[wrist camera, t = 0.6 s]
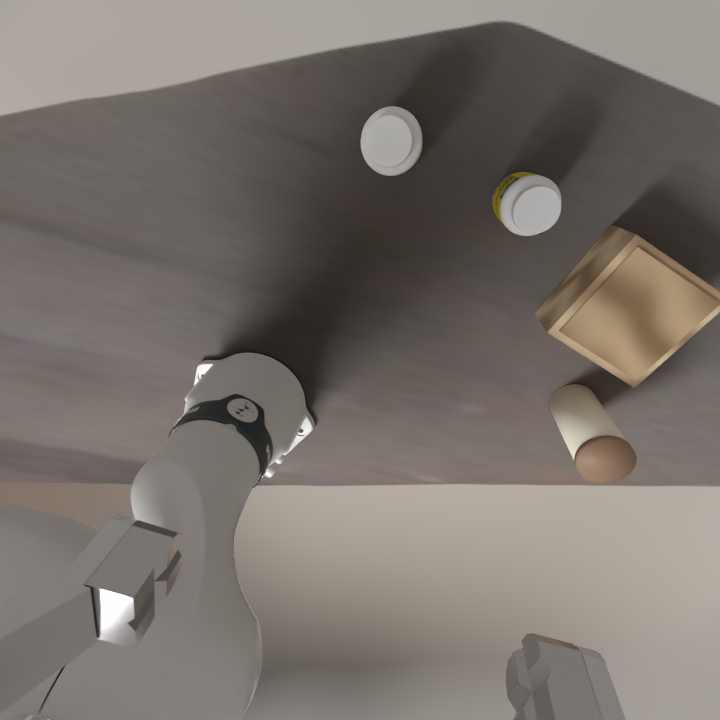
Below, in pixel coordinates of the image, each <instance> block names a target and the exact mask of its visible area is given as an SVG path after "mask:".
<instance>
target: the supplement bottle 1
mask: <svg viewBox="0 0 720 720" xmlns="http://www.w3.org/2000/svg"><path fill="white" fill-rule="evenodd" d="M422 148H423V135H422V131H421V128H420V125H419V123H418V121H417V120H416V118H415V117H414V116H413V115H412V114H411V113H410V112H408V111H407V110H405V109H403V108H400V107H395V106H389V107H385V108H382V109H380V110H378V111H376V112H375V113H374V114H372V115H371V116H370V118H369V119H368V120H367V122H366V123H365V125H364V128H363V130H362V134H361V150H362V154H363V157H364V159H365V161H366V162H367V164H368V165H369V166H370V167H371V168H372V169H373V170H374V171H376V172H377V173H380V174H382V175H387V176H395V175H399V174H402V173H404V172H405V171H407V170H409V169H410V168H411V167H412V166H413V165H414V164H415V163H416V162H417V161H418V159H419V157H420V155H421V152H422Z"/></svg>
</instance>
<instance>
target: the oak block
mask: <svg viewBox="0 0 720 720" xmlns="http://www.w3.org/2000/svg"><path fill="white" fill-rule="evenodd" d="M719 312H720V292H719V291H718V290H716V289H715V288H713V287H712V286H710V285H709V284H708V283H706V282H705V281H703V280H702V279H700V278H699V277H697V276H696V275H695V274H693V273H692V272H690V271H689V270H687V269H686V268H684V267H683V266H681V265H680V264H679V263H677V262H676V261H674V260H673V259H671V258H670V257H668V256H667V255H666V254H664V253H663V252H661V251H660V250H658V249H657V248H655V247H654V246H653V245H651V244H650V243H648V242H647V241H645V240H644V239H642V238H641V237H639V236H638V235H637V234H634V233H632V232H629V231H627V230H624V229H622V228H619V227H617V226H614V225H612V224H611V226H610V227H609V228H608V229H607V230H606V231H605V232H604V234H603V235H602V236H601V237H600V238H599V239H598V241H597V242H596V243H595V244H594V245H593V246H592V248H591V249H590V250H589V251H588V252H587V253H586V254H585V256H584V257H583V258H582V259H581V260H580V261H579V263H578V264H577V265H576V266H575V267H574V268H573V269H572V271H571V272H570V273H569V274H568V275H567V276H566V278H565V279H564V280H563V281H562V282H561V283H560V284H559V286H558V287H557V288H556V289H555V290H554V291H553V293H552V294H551V295H550V296H549V297H548V298H547V299H546V301H545V302H544V303H543V304H542V305H541V306H540V308H539V309H538V310H537V311H536V312H535V315H536V316H537V318H538V319H539V321H540V322H541V324H542V325H543V327H544V328H545V330H546V331H547V333H549V334H551V335H552V336H554V337H555V338H557V339H558V340H560V341H562V342H563V343H565V344H566V345H568V346H569V347H571V348H573V349H574V350H576V351H577V352H579V353H580V354H582V355H584V356H585V357H587V358H588V359H590V360H591V361H593V362H595V363H596V364H598V365H599V366H601V367H602V368H604V369H606V370H607V371H609V372H610V373H612V374H613V375H615V376H617V377H618V378H620V379H621V380H623V381H624V382H626V383H628V384H629V385H631V386H632V387H634V388H635V387H636V386H637V385H638V384H640V383H641V382H642V381H643V380H644V379H645V378H646V377H647V376H649V375H650V374H651V373H652V372H653V371H654V370H655V369H656V368H657V367H659V366H660V365H661V364H662V363H663V362H664V361H665V360H666V359H668V358H669V357H670V356H671V355H672V354H673V353H674V352H675V351H676V350H678V349H679V348H680V347H681V346H682V345H683V344H684V343H685V342H687V341H688V340H689V339H690V338H691V337H692V336H693V335H694V334H695V333H697V332H698V331H699V330H700V329H701V328H702V327H703V326H704V325H706V324H707V323H708V322H709V321H710V320H711V319H712V318H713V317H714V316H716V315H717V314H718V313H719Z"/></svg>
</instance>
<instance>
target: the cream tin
mask: <svg viewBox="0 0 720 720" xmlns="http://www.w3.org/2000/svg"><path fill="white" fill-rule="evenodd" d="M549 408H550V411H551V413H552V415H553V417H554V419H555V421H556V423H557V425H558V427H559V430H560V432H561V434H562V436H563V438H564V440H565V442H566V444H567V446H568V449H569V451H570V453H571V455H572V457H573V459H574V462H575V466H576V468H577V470H578V472H579V473H580V475H581V476H582V477H584V478H585V479H587V480H589V481H591V482H595V483H611V482H615V481H618V480H620V479H622V478H624V477H626V476H627V475H628V474H630V473H631V471H632V470H633V469H634V467H635V465H636V461H637V457H636V453H635V451H634V450H633V448H632V447H631V446H630V444H629V443H628V442H627V441H626V440H625V439H624V437H623V436H622V434H621V433H620V431H619V430H618V428H617V427H616V425H615V424H614V423H613V421H612V420H611V418H610V417H609V415H608V414H607V412H606V411H605V409H604V408H603V406H602V405H601V404H600V402H599V401H598V399H597V398H596V396H595V395H594V393H593V392H592V391H591V390H590V389H589V388H588V387H586V386H583V385H579V384H571V385H566V386H563V387H561V388H559V389H558V390H557V391H556V392H554V394H553V395H552V396H551V398H550V401H549Z"/></svg>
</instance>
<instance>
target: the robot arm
mask: <svg viewBox="0 0 720 720" xmlns="http://www.w3.org/2000/svg"><path fill="white" fill-rule="evenodd" d="M203 374H204V375H203ZM185 401H186V404H185V411H184V414H183V416H181V417H180V419H179V420H178V421H177V422H176V424H175V425H174V427H173V429H172V430H171V432H170V434H169V437H168V439H167V440H166V441H165V443H164V444H163V445H162V446H161V447H160V448H159V449H158V450H157V451H156V453H155V454H154V455H153V456H152V457H151V458H150V459H149V460H148V461H147V463H146V464H145V465H144V466H143V467H142V468H141V469H140V470H139V472H138V474H137V475H136V477H135V479H134V482H133V485H132V489H131V504H132V508H133V514H134V517H135V519H133V518H130V517H126V516H123V515H119V514H117V515H116V516H114V517H113V518H111V519H110V520H109V521H108V522H107V523H106V524H105V526H104V527H103V528H102V529H101V530H100V531H97V530H96V529H93V528H91V527H89V526H87V525H85V524H83V523H81V522H79V521H77V520H75V519H72V518H69V517H65V516H61V515H57V514H53V513H49V512H45V511H41V510H36V509H32V508H27V507H22V506H17V505H13V504H7V505H2V506H0V720H47V719H49V720H240V719H241V718H242V716H243V715H244V713H245V711H246V709H247V708H248V706H249V704H250V702H251V700H252V697H253V695H254V692H255V689H256V686H257V683H258V679H259V675H260V671H261V663H262V637H261V631H260V627H259V623H258V620H257V618H256V616H255V614H254V613H253V611H252V610H251V608H250V606H249V604H248V602H247V600H246V598H245V596H244V593H243V591H242V589H241V585H240V583H239V579H238V575H237V571H236V566H235V558H234V536H235V530H236V527H237V523H238V521H239V518H240V515H241V513H242V510H243V508H244V505H245V503H246V501H247V499H248V496H249V494H250V492H251V490H252V489H253V488H254V487H255V486H256V485H257V484H258V483H259V482H260V480H261V479H262V477H263V476H264V475H266V476H267V477H269V478H270V477H271V476H272V475H273V474H274V473H275V471H276V470H277V468H278V466H279V465H278V464H281V463H282V462H283V460H284V459H285V455H286V454H287V453H289V452H290V451H291V450H292V449H293V448H294V447H295V446H296V445H297V444H298V443H299V442H300V441H302V440H303V439H304V438H305V437H306V436H307V435H308V434H309V433H310V432H311V431H312V430H313V428H314V426H315V423H314V420H313V418H312V417H311V415H310V413H309V412H308V410H307V408H306V402H305V396H304V392H303V389H302V387H301V385H300V383H299V381H298V379H297V378H296V377H295V375H294V374H293V373H292V372H291V371H290V370H289V369H288V368H287V367H286V366H284V365H283V364H282V363H280V362H279V361H277V360H275V359H273V358H271V357H268V356H265V355H262V354H258V353H239V354H235V355H232V356H229V357H227V358H225V359H222V360H204V361H202V362H201V363H200V364H199V365H198V367H197V370H196V376H195V382H194V387H193V388H192V389H191V390H190V392H189V393H188V394H187V395H186V397H185ZM300 429H303V430H300ZM277 463H278V464H277ZM522 644H523V648H522V649H519V650H516V651H514V652H513V653H512V655H511V657H510V658H509V660H508V665H507V669H506V687H507V695H508V699H509V700H510V702H511V704H512V705H513V707H514V708H515V710H516V714H515V716H514V718H513V720H626V719H625V717H624V714H623V711H622V708H621V706H620V703H619V700H618V697H617V694H616V691H615V688H614V686H613V683H612V680H611V677H610V674H609V672H608V669H607V666H606V663H605V661H604V659H603V657H602V656H601V654H600V653H598V652H596V651H594V650H590V649H586V648H583V647H579V646H575V645H573V644H571V643H567V642H563V641H560V640H556V639H552V638H548V637H544V636H541V635H537V634H533V633H530V634H527V635H526V636H525V637H524V638H523V640H522Z"/></svg>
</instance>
